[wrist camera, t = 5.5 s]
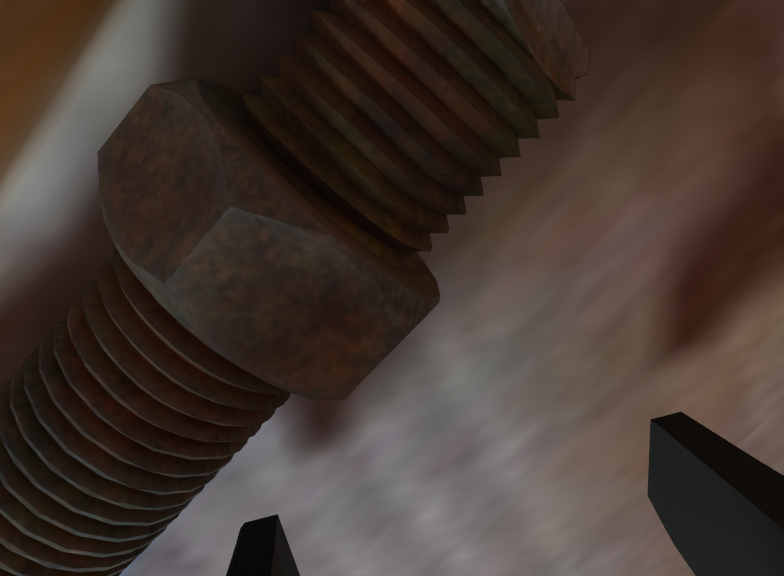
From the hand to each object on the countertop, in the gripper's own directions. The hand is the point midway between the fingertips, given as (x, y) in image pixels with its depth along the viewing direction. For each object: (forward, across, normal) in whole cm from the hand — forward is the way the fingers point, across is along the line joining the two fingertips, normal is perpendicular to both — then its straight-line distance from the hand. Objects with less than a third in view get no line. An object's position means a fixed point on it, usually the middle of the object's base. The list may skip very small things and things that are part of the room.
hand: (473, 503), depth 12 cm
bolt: (+2, +4, -4) cm, 7 cm away
